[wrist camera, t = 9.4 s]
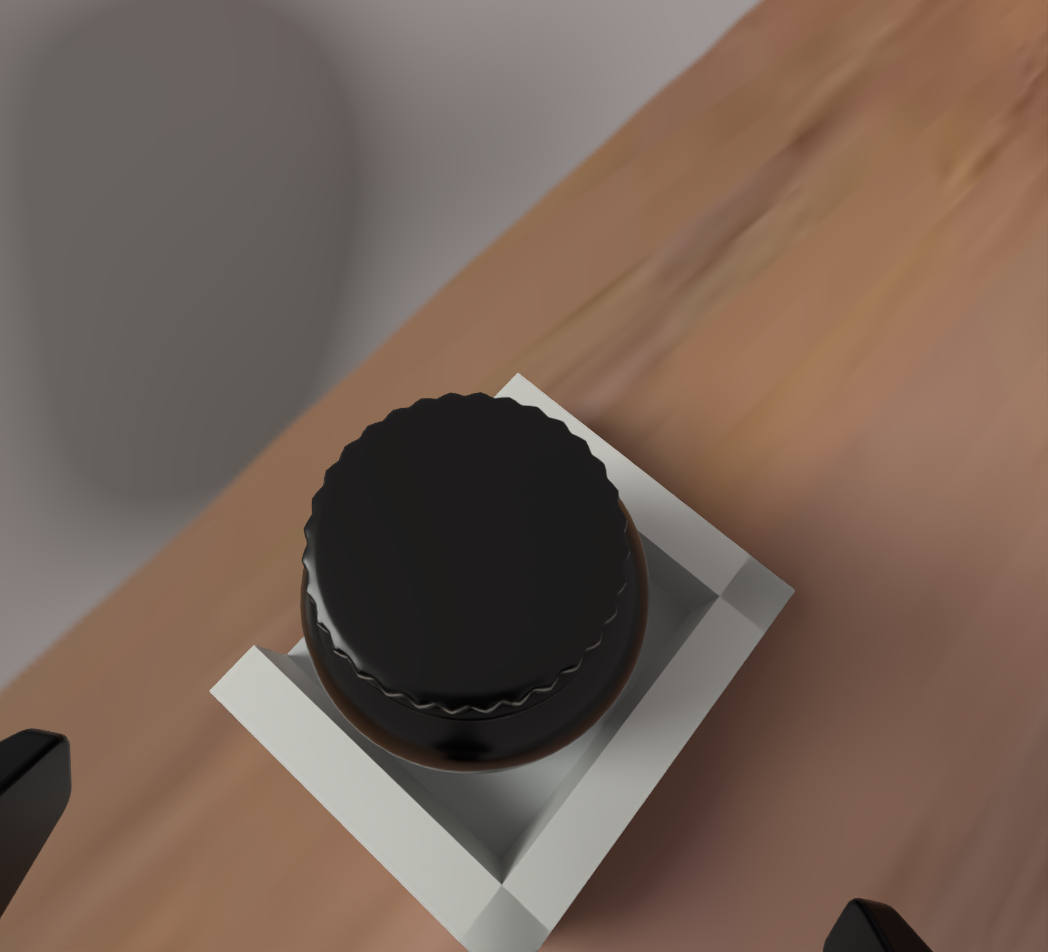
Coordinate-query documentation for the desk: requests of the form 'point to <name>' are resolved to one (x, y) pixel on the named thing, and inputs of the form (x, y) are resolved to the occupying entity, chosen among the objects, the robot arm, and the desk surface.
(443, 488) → the supplement bottle
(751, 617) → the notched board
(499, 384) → the desk surface
